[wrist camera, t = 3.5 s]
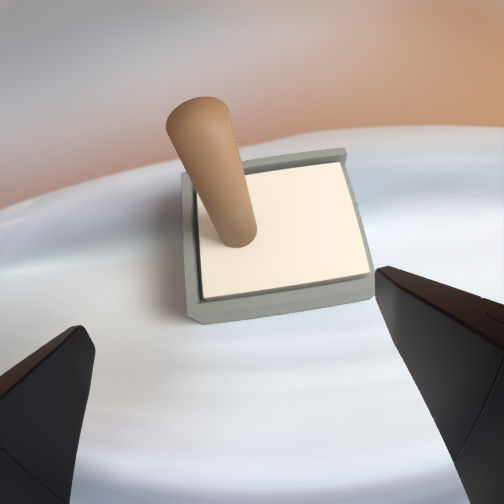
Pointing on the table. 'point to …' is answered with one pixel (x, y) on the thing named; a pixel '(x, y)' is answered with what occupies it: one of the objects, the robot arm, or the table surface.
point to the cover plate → (263, 213)
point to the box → (276, 300)
